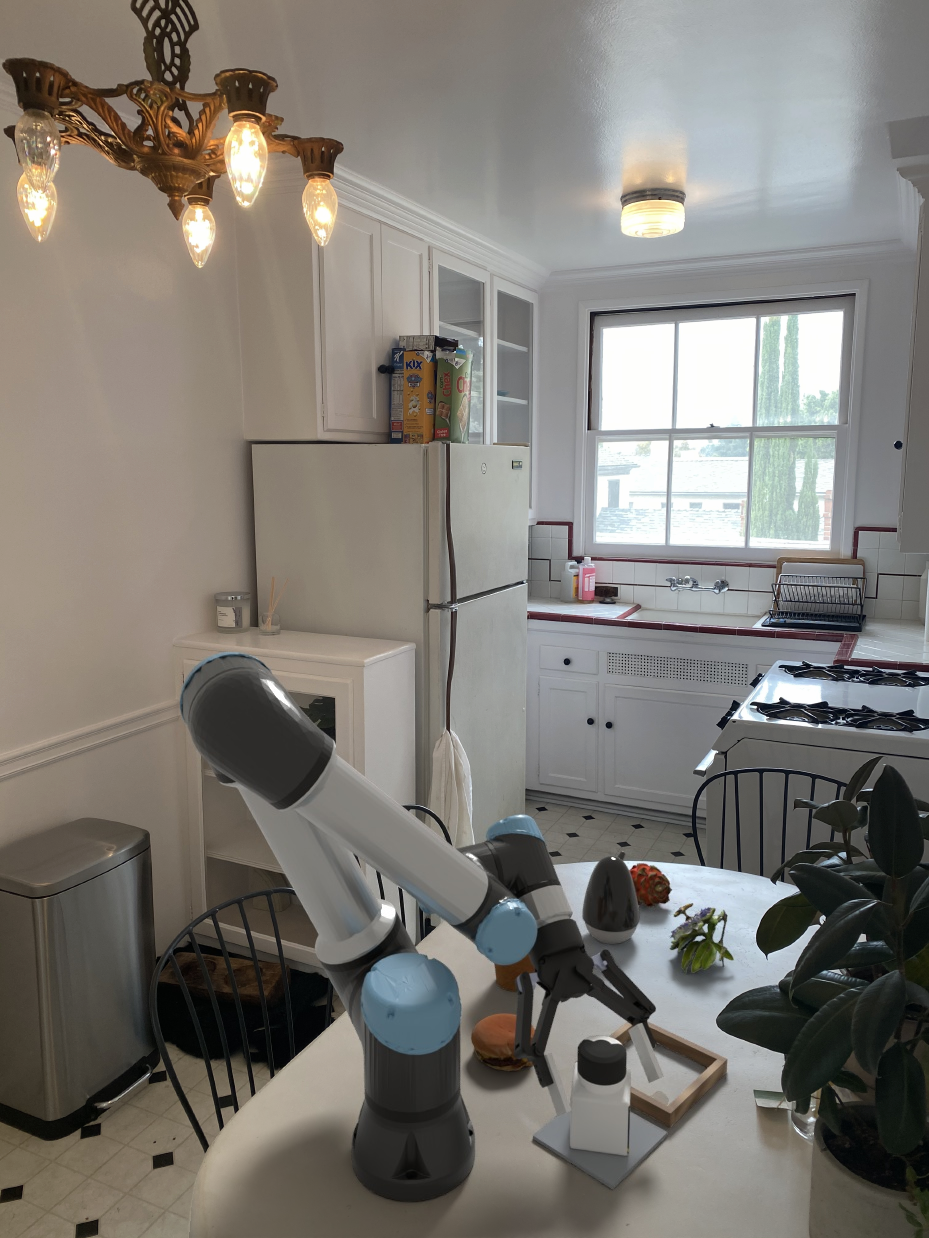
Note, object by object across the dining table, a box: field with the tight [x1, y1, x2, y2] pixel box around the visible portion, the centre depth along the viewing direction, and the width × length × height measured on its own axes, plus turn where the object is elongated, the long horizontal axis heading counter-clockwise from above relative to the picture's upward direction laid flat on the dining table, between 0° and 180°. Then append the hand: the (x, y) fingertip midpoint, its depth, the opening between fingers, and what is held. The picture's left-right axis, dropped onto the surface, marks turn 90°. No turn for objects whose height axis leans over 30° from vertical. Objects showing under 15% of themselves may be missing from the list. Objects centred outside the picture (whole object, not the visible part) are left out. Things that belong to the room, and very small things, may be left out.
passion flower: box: [668, 902, 734, 974], centre depth 155 cm, size 11×11×12 cm
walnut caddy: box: [574, 1020, 728, 1128], centre depth 126 cm, size 15×15×2 cm
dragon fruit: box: [629, 862, 673, 908], centre depth 176 cm, size 8×8×12 cm
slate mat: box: [532, 1111, 668, 1190], centre depth 114 cm, size 12×12×1 cm
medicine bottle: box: [569, 1034, 632, 1156], centre depth 113 cm, size 7×7×12 cm
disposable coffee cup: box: [493, 954, 535, 992], centre depth 148 cm, size 10×10×12 cm
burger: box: [470, 1013, 536, 1072], centre depth 130 cm, size 10×9×5 cm
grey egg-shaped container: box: [581, 851, 641, 945], centre depth 162 cm, size 10×10×15 cm
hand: (612, 1096), depth 110 cm, fingers open, 13 cm apart
